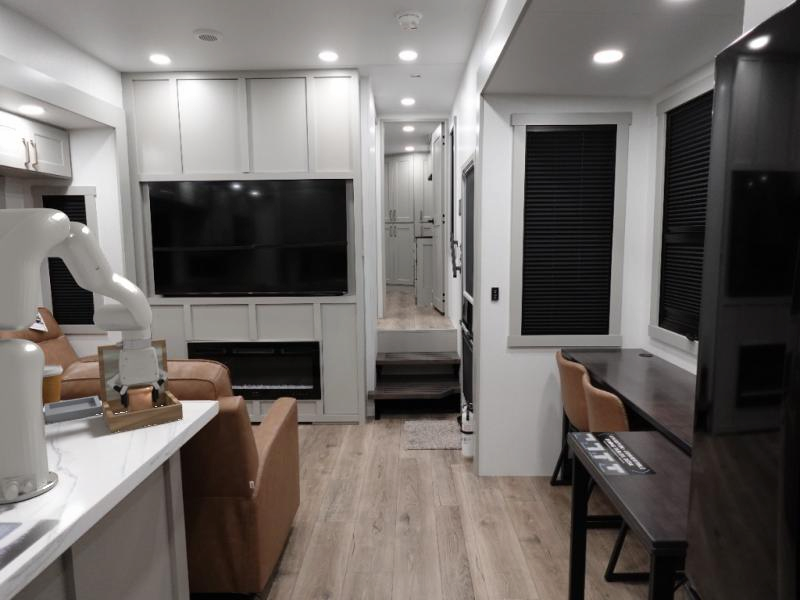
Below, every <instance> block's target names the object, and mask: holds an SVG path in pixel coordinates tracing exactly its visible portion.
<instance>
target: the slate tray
mask: <svg viewBox="0 0 800 600" xmlns="http://www.w3.org/2000/svg"><path fill="white" fill-rule="evenodd" d="M100 400H101V399H99V395H92V396H88V397H87V396H86V397H80V398H73V399H67V400H60V402H54V403H48V404H44V405H45V407H44V418H45V425H48V424H47V423H51V424H54V423H53V422H57V423H61V421H62V422H67V421H66V420H68V421H72V419H74V420H78V419H77V418H79V419H82V418H81V417H85V418H89V417H88V416H90V417H93V416H92V415H96V414H101V413H102V402H101V401H100ZM96 416H97V415H96Z"/></svg>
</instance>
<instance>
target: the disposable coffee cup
mask: <svg viewBox="0 0 800 600" xmlns="http://www.w3.org/2000/svg"><path fill="white" fill-rule="evenodd" d="M63 371H64V368H63V366H62V365H60V364H47V365H45V366H44V373H43V380H42V402H43V406H45V405H44V404H48V403H54V402H60V401H61V393H62V392H61V391H62V390H61V389H62V375H63V374H62V373H63Z"/></svg>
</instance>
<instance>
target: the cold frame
mask: <svg viewBox="0 0 800 600" xmlns="http://www.w3.org/2000/svg"><path fill="white" fill-rule="evenodd" d="M151 346H152V347H154V348H155V351H156V355H157V361H158V367H159V368H160V369H162V370H164V371H165V372H167V373H168V372H169V370H168V355H167V341H166V339H165V338H162V339H154V340H152V339H151ZM120 350H122V348H121V347H117V346H116V343H115V344H107V345H106V344H105V345H99V346H97V359H98V360H97V361H98V371H99V373H98V374H99V385H100V400H101V401H100V402H101V405H102V413H103V414H102V417H104V418H103V420H104V419H105V420H104V422H105V424H107V425H106V427H107V426H108V427H107V429H108V430H109V433H113V434H116V433H115V432H118V431H122V432H126V431H125V430H127V431H131V429H132V430H136V428H137V429H141V428H140V427H142V428H145V427H144V426H147V427H149V426H148V425H152V426H155V425H154V424H157V425H161V424H160V423H162V424H165V423H164V422H167V423H170V422H169V421H172V422H175V421H174V420H177V421H179V420H178V419H182V418H183V419H184V415H183V414H184V413H183V403H181V401H179V400H178V398H177V397H175V395H174V394H173V393H171V391H170V390H169V388H170V387H169V376H168V377H167V379H166V380H165V381H164V383H163V384H162V385H161V386H160V388H159V389H158V391H159V399H157V403H154V402H153V401H152V402H153V407H155V406H161V405H166V406H161V407H156V408H153V409H147V410H142V411H136V412H131V413H129V412H128V413H123V414H117V415H113V414H115V413H120V412H126V411H128V407H127V408H125V407H124V405H121V396H120V393H119V392H117V391H116V390H114V389H113V388H112V387H111V386H109V385H108V384H107V381H108V380H109V379H110V378H111V377H113V376H114V375H115V374H116V373H117V372H118V365H119V354H120ZM168 374H169V373H168ZM161 377H162V374H160V373H159V379H160V378H161ZM159 379H158V380H159ZM158 380H157V381H158ZM157 381H156V382H157ZM114 383H115V384H116V385H117V386H119V387H121V385H122V384H121V383H120V382H119V378H118V379H117V380H116V381H115V382H114ZM144 384H152V383H144ZM130 386H131V385H130ZM126 394H127V393H126ZM127 403H128V398H127ZM183 419H182V420H183ZM118 433H119V432H118Z"/></svg>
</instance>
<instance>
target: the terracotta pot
mask: <svg viewBox="0 0 800 600" xmlns="http://www.w3.org/2000/svg"><path fill="white" fill-rule="evenodd" d="M152 390H153V385H152V384H137V385H131V386H128V388H127V390H126V393H127V398H128V413H131V412H136V411H142V410H147V409H153V402H152Z"/></svg>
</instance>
